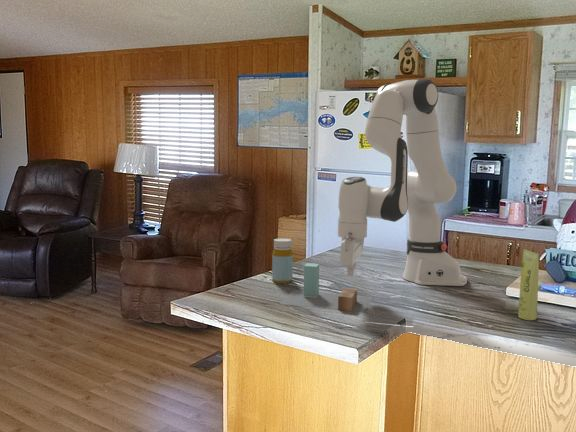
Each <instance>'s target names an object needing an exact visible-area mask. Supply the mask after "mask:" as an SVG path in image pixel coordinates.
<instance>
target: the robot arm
mask: <svg viewBox="0 0 576 432" xmlns="http://www.w3.org/2000/svg"><path fill="white" fill-rule="evenodd" d="M438 100H439V89H438V87H437V85H436V84H435V82H434V81H433V80H431V79H426V78H420V79H406V80H401V81H397V82H394V83H393V82H392V83H386V84H384V85H382V86H380V87H379V88H378V89H377V91H376V93H375V95H374V99H373V100H372V104H371V106H370V109H369V113H368V116H367V120H366V125H365V129H364V137H365V140H366V142H367V143H368V145H369V146H370V147H372V148H373V149H374V150H375V151H377V152H379V153H381V154H384V155H385V156H387V157H389V159H390V162H391V167H390V168H391V169H390V185H389V186H388V187H377V186H375V187H374V186H371V185H369V184H368V183H367V178H365V177H362V176H351V177H350V176H349V177H346V178H344V179H342V180H341V182H340V187H339V192H338V205H337V207H338V210H339V215H338V217H337V218H338V219H337V236H338V237H339V238H341V245H340V257H339V258H340V259H339V263H340V267H346V269H347V276H348V277H353V276H354V275H355V273H356V265H357V260H359V258H360V257H361V256H362V254H363V250H364V242H365V238H367V236H368V218H371V219H378V220H379V219H380V220H384V221H389V222H392V223H395V222H398V221H400V220H401V219H402V218H403V217H404V216H405V215H406V214H407V212H408V238H407V240H406V262H405V267H404V270H403V273H402V278H403V279H404V280H405V281H408V282H412V283H414V284H415V283H416V284H418V285H424V286H426V285H427V286H449V287H450V286H455V287H462V286H465V285H467V283H468V278H467V277H466V276H465V275H464V274H462V269H461V266H460V263H459V262H458V261H457V260H456V259H455V258H453V257H452V256H451V255H450V254H449V253H447V252H446V251H447V248H448V246H447V243H445V242H444V241H442V240H441V230H442V229H441V228H442V220H441V219H442V218H441V217H440V215H439V213H438V211H437V210H436V205H435V204H445V203H449V202H450V201H452V200H453V199H454V197H455V195H456V193H457V183H456V180H455V179H454V178H453V177H452V175H451V174H450V173H449V171H448V169H447V166H446V165H445V161H444V158H443V155H442V152H441V143H440V141H441V140H440V131H439V130H440V128H439V120H438V115H437V111H436V108H435V107H436V106H437V104H438ZM404 116H405V132H406V134H405V135H406V141H405V140H404V139H403V137H402V133H401V130H402V125H403V119H404ZM408 157H409V158H408ZM408 159H410V160H411V161H412V163H413V165H414V167H415V169H413V170H412V169H411V170H410V171H408V164H409V163H408V161H409V160H408Z"/></svg>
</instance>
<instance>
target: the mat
mask: <svg viewBox="0 0 576 432" xmlns="http://www.w3.org/2000/svg"><path fill="white" fill-rule="evenodd" d="M339 295H340V293H327V292H319V295H318V296H317V297H316V298H313V297H304V290H292V291H291V292H290V293H289V294H288V295H287V296H286V297H284V299H283V300H282V301H281V302H280V303H279V305H285V306H292V307H293V306H296V307H305V308H316V309H324V310H325V309H328V310H337V311H339V310H338V296H339ZM372 300H373V297H372V296H363V295H362V296H360V295H357V302H356V304H355V306H354V307H353V309H352V311H351V312H360V313H366V312H367V310H368V307H369V305H370V303H371V302H372ZM346 311H347V312H348V310H346Z"/></svg>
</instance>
